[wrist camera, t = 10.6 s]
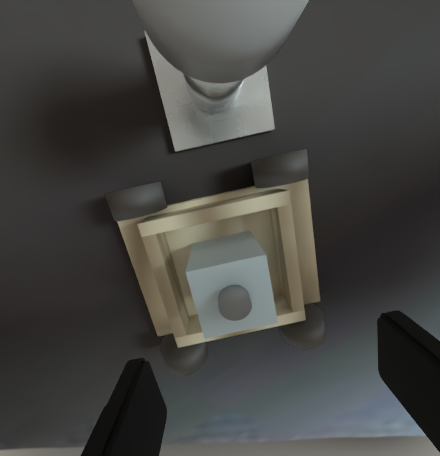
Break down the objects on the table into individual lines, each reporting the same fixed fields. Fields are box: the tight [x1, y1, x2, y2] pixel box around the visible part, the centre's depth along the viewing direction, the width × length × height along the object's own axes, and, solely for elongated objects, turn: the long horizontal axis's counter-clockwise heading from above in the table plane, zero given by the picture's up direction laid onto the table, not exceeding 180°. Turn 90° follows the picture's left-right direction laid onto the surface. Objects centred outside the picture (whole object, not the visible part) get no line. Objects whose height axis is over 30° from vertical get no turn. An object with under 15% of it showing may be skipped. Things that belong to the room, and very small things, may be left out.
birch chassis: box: [105, 149, 325, 377], centre depth 18 cm, size 16×16×4 cm
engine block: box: [186, 231, 278, 339], centre depth 16 cm, size 5×5×6 cm
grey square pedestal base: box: [145, 31, 275, 152], centre depth 13 cm, size 8×8×6 cm
